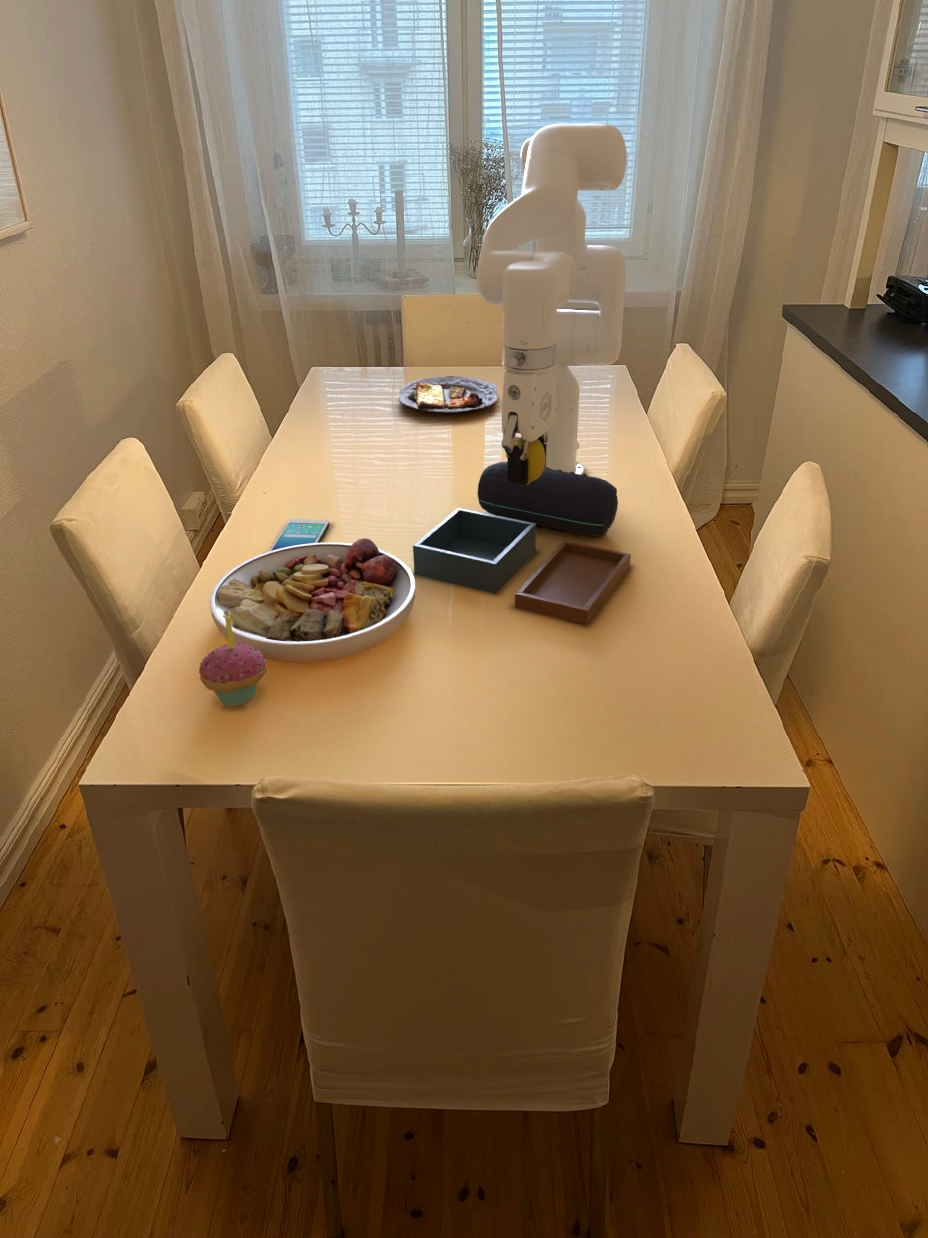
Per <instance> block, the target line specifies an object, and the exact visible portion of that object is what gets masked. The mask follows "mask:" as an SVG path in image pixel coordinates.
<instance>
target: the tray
mask: <svg viewBox="0 0 928 1238" xmlns="http://www.w3.org/2000/svg"><path fill="white" fill-rule="evenodd" d="M631 556H632V555H631V553H629V552H623V551H619V550H614V549H608V548H604V547H599V546H594V545H591V544H585V543H584V544H583V543H579V542H575V541H569V540H563V541H562V542H560V544H559V545H558V546H557V547H556V548H555V549H554V550H553V551H552V553H550V555H549V556H548V557H547V558H546V559H545V560H544V561H543V562H542V563H541V564H540V566H539V567H538V568H537V569H536V570H535V571H534V572H533V573H532V575H530V577H528V579H527V580H526V581H525V582H524V583H523V584H522V585H521V587H520V588H519V589H518V590H517V591H515V593H514V608H515V609H518V610H522V611H526V612H531V613H534V614H539V615H542V616H547V617H551V618H555V619H558V620H559V619H560V620H563V621H568V622H572V623H575V624H580V625H583V626H587V625H588V624H589V622H591V620H592V619H593V618H594V616H595V615H596V613H597V612H598V611H599V609H600V608H601V607H602V605H603V604H604V603H605V601H606V600H607V598H608V597H609V596H610V594H611V593H612V592H613V590H615V588H616V586H617V585H618V584H619V582H620V581H621V580H622V578H623V577H624V576H625V574H626V573H627V572H628V570H629V569H630V568H631Z"/></svg>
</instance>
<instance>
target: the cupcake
mask: <svg viewBox="0 0 928 1238" xmlns="http://www.w3.org/2000/svg"><path fill="white" fill-rule="evenodd" d="M226 615H227V616H226V617H225V621H226V628H227V635H228V640H227V642H228V643H227V644H224V645H221V646H219V647H215V648H214V649H213V650H212V651H210V652H209V653H207V655H206V656H204V657H203V658H202V662H200V663H199V669H198V670H199V672H198V673H199V678H200V681H201V683H202V684H203V685H204V687H205V688H206V689H207V690H209V691H212V692H214V694H215V695H216V697H217V698H218V700H219V702H220V703H221V704H223V705H225V706H230V707H238V706H243V705H245V704H247V703H249V702H251V701H252V700H253V699H254V698H255V696H256V694H257V687H258V683H259V682H260V681H261V680H262V678H263V677H264V675H265V674H266V673H267V670H268V666H267V661H266V659H264V657H263V655H262V654H261V651H258V650H256V648H254V647H253V646H251V647H250V646H248V645H244V644H240V643H234V640H233V633H232V626H231V619H230V616H228V610H226Z"/></svg>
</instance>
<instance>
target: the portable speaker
mask: <svg viewBox="0 0 928 1238" xmlns="http://www.w3.org/2000/svg"><path fill="white" fill-rule="evenodd" d="M507 462H508V461H499V462H496V463H493V464H491V465H488V466H487V467H486V468H484V469H483V471H482V473H481V474H480V477H479V481H478V484H477V493H476V494H477V499H478V504H479V505H480V507H481V509H483V510H484V511H485V512H486V513H487V514H492V515H497V516H501V517H506V518H511V519H516V520H521V521H526V522H531V523H536V526H539V527H543V528H544V527H545V528H549V529H554V530H558V531H562V532H567V533H572V534H577V535H581V536H586V537H603V536H605V535H606V534H607V532H608V530H609V529H610V528H611V526H612V525H613V523H614V521H615V519H616V516H617V511H618V507H619V500H618V489H617V487H615V486H614V485H613V484H612V483H611V482H609V481H607V480H606V479H603V478H600V477H596V476H589V475H588V474H586V473H584V474H583V475H580V474H575V473H574V472H570V473H569V472H563V471H562V470H559V469H558V470H552V469H550V468H548V467H546V468H545V469H544V470H543V473H542V474H541V476H540V477H539V478H538V479H536V480H534V481H532V482H530V483H529V484H528V485H522V484H517V483H512V482H509V481H508V480H507Z"/></svg>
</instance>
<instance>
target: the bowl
mask: <svg viewBox="0 0 928 1238" xmlns="http://www.w3.org/2000/svg"><path fill="white" fill-rule="evenodd" d="M414 576H415V575H414V573H413V572H412V570H411V568H409V567H408V566H407V564H405V563H404V561H402V560H400V559H399V558H398V557H397V556H395V555H394V554H393V555H392V554H391V553H389V552H386V551H384V550H382V549H379V548H378V546H377V545H376V544H375V543H374V541H372V540H371V539H369V538H367V537H366V538H365V537H364V538H359V539H357V540H355V541H354V542H352V543H348V542H347V543H346V542H320V543H310V544H301V545H295V546H289V547H285V548H280V549H277V550H273V551H270V552H269V551H267V552H263V553H261V554H258V555H255V556H253V557H251V558H249V559H247V560H245V561H243V562H241V563H239V564H237V565H235V566H234V567H233V568H231V569H230V570H229V571H228V572H226V573H225V574H224V575H223V576H222V577H221V578H220V579H219V580H218V581H217V583H216V584H215V586H214V587H213V589H212V591H211V594H210V597H209V608H210V613H211V617H212V620H213V623H214V624H215V626H216V628H217V630H218V631H219V632H220V634H221V635H222V636H223V637H224V638H225V639H226V641H228V635H227V628H226V621H225V617H226V616H227V615H226V610H228V616H230V619H231V626H232V633H233V640H234V643H240V644H244V645H248V646H250V647H251V646H253V647H254V648H256V650H258V651H261V654H262V655H263V657H264V659H265V660H269V661H273V662H278V663H290V664H291V663H292V664H313V663H322V662H329V661H336V660H340V659H345V658H348V657H352V656H354V655H358V654H360V653H362V652H365V651H368V650H369V649H372V648H374V647H376V646H378V645H379V644H381V643H383V642H385V641H386V640H387V639H389V638H390V637H392V636H393V635H394V634H395V633H396V632H397V631H398V630H399V629H401V627H402V626H403V625H404V623H405V622H407V620H408V618H409V616H410V614H411V612H412V610H413V608H414V604H415V601H416V594H417V593H416V589H417V588H416V578H415V577H414Z"/></svg>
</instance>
